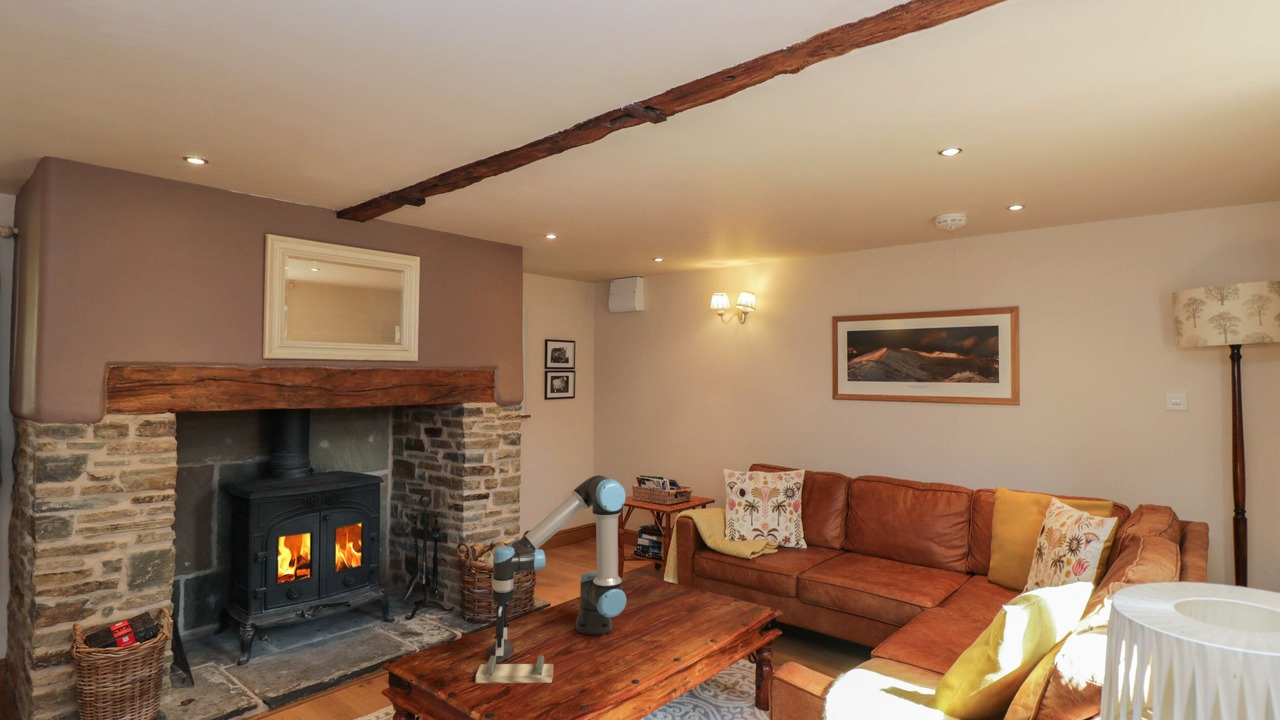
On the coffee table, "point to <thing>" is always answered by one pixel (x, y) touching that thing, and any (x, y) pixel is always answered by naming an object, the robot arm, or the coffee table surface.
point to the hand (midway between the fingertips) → (501, 650)
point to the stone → (507, 651)
